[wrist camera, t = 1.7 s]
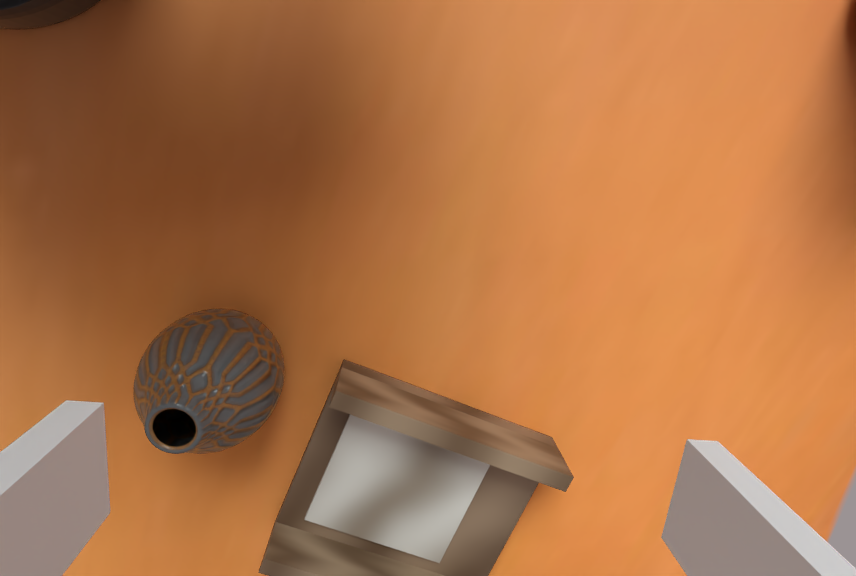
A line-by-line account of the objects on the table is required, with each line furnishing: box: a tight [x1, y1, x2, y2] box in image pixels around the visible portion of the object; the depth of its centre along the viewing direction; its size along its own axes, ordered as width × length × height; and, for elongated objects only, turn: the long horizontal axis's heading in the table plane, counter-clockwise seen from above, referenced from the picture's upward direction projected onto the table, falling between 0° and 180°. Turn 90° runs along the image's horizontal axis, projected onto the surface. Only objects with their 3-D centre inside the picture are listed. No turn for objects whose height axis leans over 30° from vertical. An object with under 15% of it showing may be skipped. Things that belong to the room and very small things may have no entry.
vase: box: [134, 309, 284, 454], centre depth 27 cm, size 7×7×9 cm
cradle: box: [259, 359, 574, 576], centre depth 32 cm, size 14×12×4 cm
